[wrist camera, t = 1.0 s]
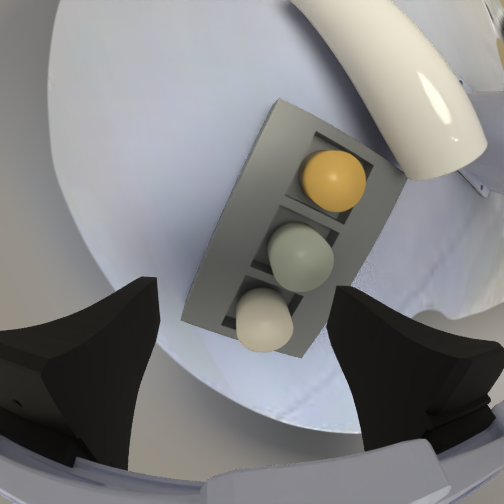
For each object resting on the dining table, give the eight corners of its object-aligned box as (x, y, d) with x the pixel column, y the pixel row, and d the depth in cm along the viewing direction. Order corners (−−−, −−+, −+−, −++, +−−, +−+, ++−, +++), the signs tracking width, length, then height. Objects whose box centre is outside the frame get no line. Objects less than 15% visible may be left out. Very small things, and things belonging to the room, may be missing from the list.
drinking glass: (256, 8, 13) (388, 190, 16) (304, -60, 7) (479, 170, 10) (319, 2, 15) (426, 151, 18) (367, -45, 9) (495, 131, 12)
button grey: (331, 235, 18) (344, 248, 16) (305, 281, 19) (314, 299, 17) (282, 212, 17) (290, 223, 15) (257, 262, 18) (261, 279, 16)
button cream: (295, 297, 19) (303, 317, 17) (272, 335, 20) (277, 357, 18) (248, 280, 19) (251, 299, 16) (228, 321, 20) (227, 343, 17)
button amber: (358, 165, 17) (375, 169, 15) (335, 212, 18) (348, 221, 16) (313, 140, 17) (325, 139, 14) (289, 189, 18) (297, 195, 15)
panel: (390, 171, 19) (408, 176, 16) (295, 339, 24) (301, 358, 21) (273, 104, 17) (279, 98, 14) (185, 302, 22) (180, 320, 19)
